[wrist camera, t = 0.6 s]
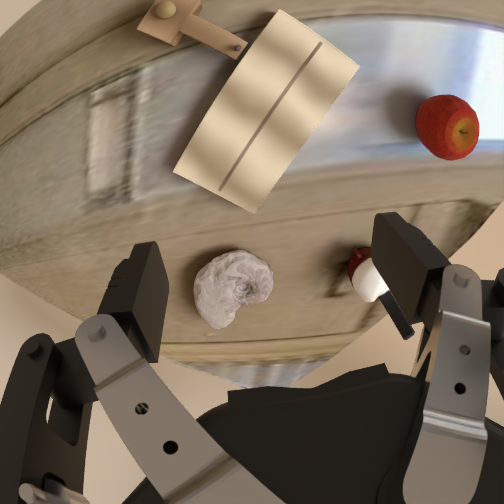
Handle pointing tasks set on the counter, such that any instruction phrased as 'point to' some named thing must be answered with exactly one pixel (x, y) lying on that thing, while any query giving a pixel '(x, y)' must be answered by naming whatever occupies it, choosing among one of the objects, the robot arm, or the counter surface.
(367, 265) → the cocoa
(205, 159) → the board
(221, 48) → the block
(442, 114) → the apple
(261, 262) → the fossil
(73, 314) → the counter surface
